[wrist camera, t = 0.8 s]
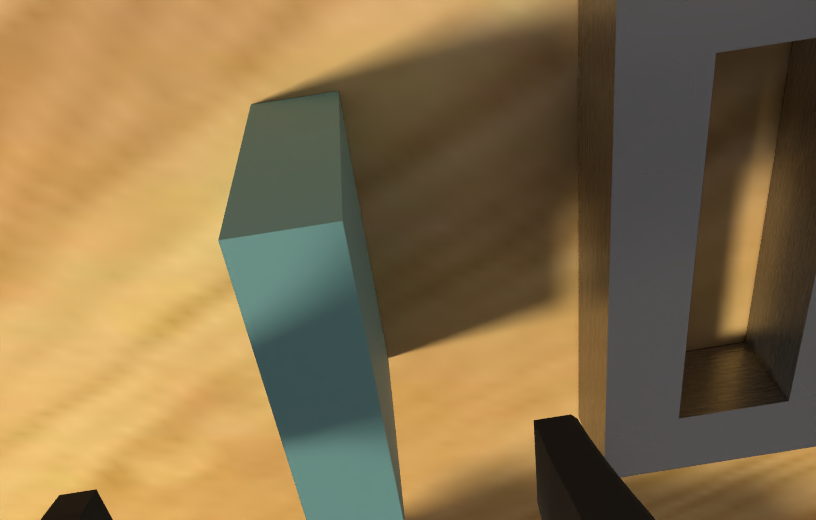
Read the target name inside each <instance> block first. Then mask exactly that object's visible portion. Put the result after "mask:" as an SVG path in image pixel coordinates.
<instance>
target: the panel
mask: <svg viewBox="0 0 816 520" xmlns="http://www.w3.org/2000/svg"><path fill="white" fill-rule="evenodd" d="M218 241H219V244H220V247H221V250H222V253H223V257H224V260H225V263H226V266H227V269H228V272H229V276H230V279H231V282H232V285H233V288H234V291H235V295H236V298H237V301H238V304H239V307H240V311H241V314H242V317H243V320H244V323H245V326H246V330H247V333H248V336H249V339H250V342H251V345H252V349H253V352H254V355H255V358H256V361H257V364H258V368H259V371H260V374H261V377H262V380H263V384H264V387H265V390H266V393H267V396H268V399H269V403H270V406H271V409H272V412H273V415H274V418H275V422H276V425H277V428H278V431H279V434H280V437H281V441H282V444H283V447H284V450H285V453H286V457H287V460H288V463H289V466H290V469H291V472H292V476H293V479H294V482H295V485H296V488H297V491H298V495H299V498H300V501H301V504H302V507H303V511H304V514H305V517H306V520H405V517H404V508H403V498H402V488H401V479H400V469H399V459H398V450H397V440H396V430H395V420H394V411H393V401H392V391H391V382H390V372H389V362H388V355H387V350H386V344H385V339H384V334H383V328H382V323H381V317H380V312H379V307H378V301H377V296H376V291H375V285H374V280H373V274H372V269H371V264H370V258H369V253H368V248H367V242H366V237H365V231H364V226H363V221H362V215H361V210H360V204H359V199H358V194H357V188H356V183H355V178H354V172H353V167H352V161H351V156H350V151H349V145H348V140H347V135H346V129H345V124H344V118H343V113H342V108H341V102H340V97H339V92H338V91H335V92H329V93H322V94H316V95H309V96H303V97H296V98H290V99H283V100H277V101H270V102H264V103H258V104H251V107H250V111H249V115H248V119H247V123H246V127H245V132H244V136H243V140H242V144H241V148H240V152H239V157H238V161H237V165H236V169H235V173H234V177H233V182H232V186H231V190H230V194H229V198H228V202H227V207H226V211H225V215H224V219H223V223H222V227H221V232H220V236H219V240H218Z"/></svg>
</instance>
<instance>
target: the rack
mask: <svg viewBox="0 0 816 520" xmlns="http://www.w3.org/2000/svg"><path fill="white" fill-rule="evenodd" d="M791 41H793V44H792V50H791V56H790V63H789V69H788V75H787V81H786V88H785V94H784V100H783V107H782V113H781V119H780V126H779V132H778V138H777V145H776V151H775V157H774V163H773V170H772V176H771V182H770V189H769V195H768V201H767V208H766V214H765V220H764V226H763V233H762V239H761V245H760V252H759V258H758V264H757V271H756V277H755V283H754V290H753V296H752V302H751V308H750V315H749V321H748V327H747V334H746V340H745V342H744V343H738V344H732V345H725V346H719V347H713V348H706V349H700V350H694V351H687V352H686V343H687V333H688V323H689V314H690V304H691V294H692V284H693V275H694V265H695V255H696V245H697V236H698V226H699V216H700V206H701V197H702V187H703V177H704V167H705V158H706V148H707V138H708V128H709V119H710V109H711V99H712V89H713V80H714V70H715V60H716V53H720V52H727V51H733V50H740V49H746V48H753V47H759V46H766V45H772V44H778V43H785V42H791ZM579 418H580V421H581V423H582V426H583V428H584V430H585V431H586V433H587V434H588V436H589V437H590V438H591V440H592V441H593V443H594V444H595V446H596V447H597V448H598V450H599V451H600V452H601V454H602V455H603V456H604V458H605V459H606V460H607V462H608V463H609V464H610V466H611V467H612V468H613V469H614V471H615V472H616V473H617V474H618V476H619V477H626V476H632V475H639V474H645V473H651V472H658V471H664V470H670V469H676V468H683V467H689V466H695V465H702V464H708V463H714V462H721V461H727V460H733V459H739V458H746V457H752V456H758V455H765V454H771V453H777V452H784V451H790V450H796V449H802V448H809V447H815V446H816V0H579Z"/></svg>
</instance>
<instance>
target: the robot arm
mask: <svg viewBox="0 0 816 520" xmlns="http://www.w3.org/2000/svg"><path fill="white" fill-rule="evenodd" d="M534 435H535V456H536V478H537V499H538V506H539V510H540V514H541V518H542V520H655V519H654V517H653V516H652V515H651V514H650V513H649V512H648V510H647V509H646V508H645V507H644V506H643V505H642V503H641V502H640V501H639V500H638V499H637V498H636V497H635V495H634V494H633V493H632V492H631V491H630V489H629V488H628V487H627V486H626V484H625V483H624V482H623V481H622V480H621V478H620V477H619V476H618V474H617V473H616V472H615V471H614V469H613V468H612V467H611V466H610V464H609V463H608V462H607V460H606V459H605V458H604V456H603V455H602V454H601V452H600V451H599V450H598V448H597V447H596V446H595V444H594V443H593V441H592V440H591V438H590V437H589V436H588V434H587V433H586V431H585V430H584V428H583V427H582V425H581V424H580V422H579V421H578V419H577V418H575V417H574V416H572V415H565V416H559V417H552V418H546V419H540V420H534ZM41 520H113V519H112V518H111V516H110V514H109V512H108V510H107V508H106V506H105V505H104V503H103V501H102V499H101V497H100V495H99V494H98V492H97V490H90V491H83V492H77V493H71V494H64V495H59V496H58V498H57V499H56V500H55V502H54V503H53V504H52V505H51V507H50V508H49V509H48V511H47V512H46V513H45V515H44V516H43V517H42V519H41Z"/></svg>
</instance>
